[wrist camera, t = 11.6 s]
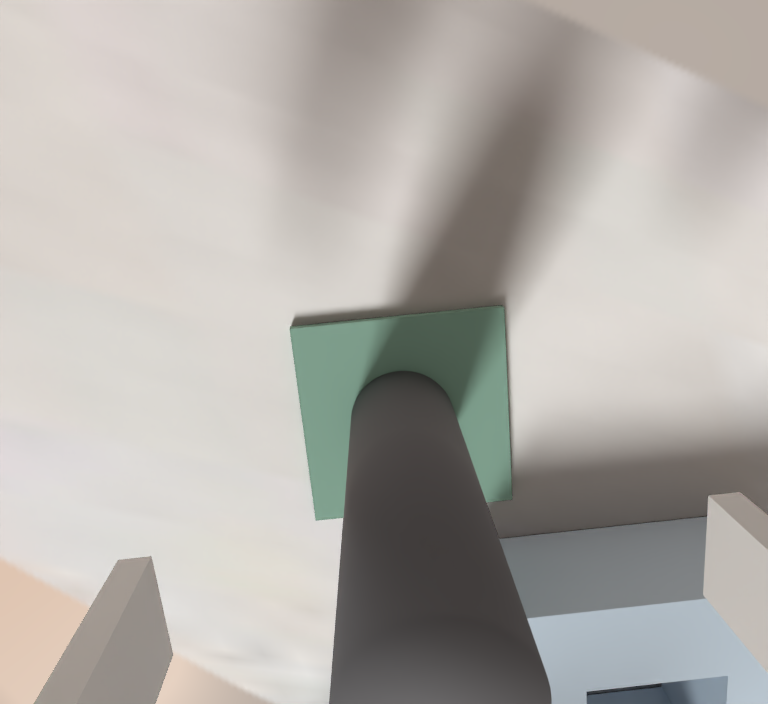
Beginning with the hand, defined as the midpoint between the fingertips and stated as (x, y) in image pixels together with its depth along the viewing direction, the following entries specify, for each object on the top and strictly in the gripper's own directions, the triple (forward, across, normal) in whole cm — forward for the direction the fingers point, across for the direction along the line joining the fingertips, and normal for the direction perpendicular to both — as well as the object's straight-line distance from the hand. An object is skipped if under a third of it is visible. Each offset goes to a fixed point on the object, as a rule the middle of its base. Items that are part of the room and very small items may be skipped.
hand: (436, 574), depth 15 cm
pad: (+11, 0, 0) cm, 11 cm away
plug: (+10, 0, 0) cm, 10 cm away
